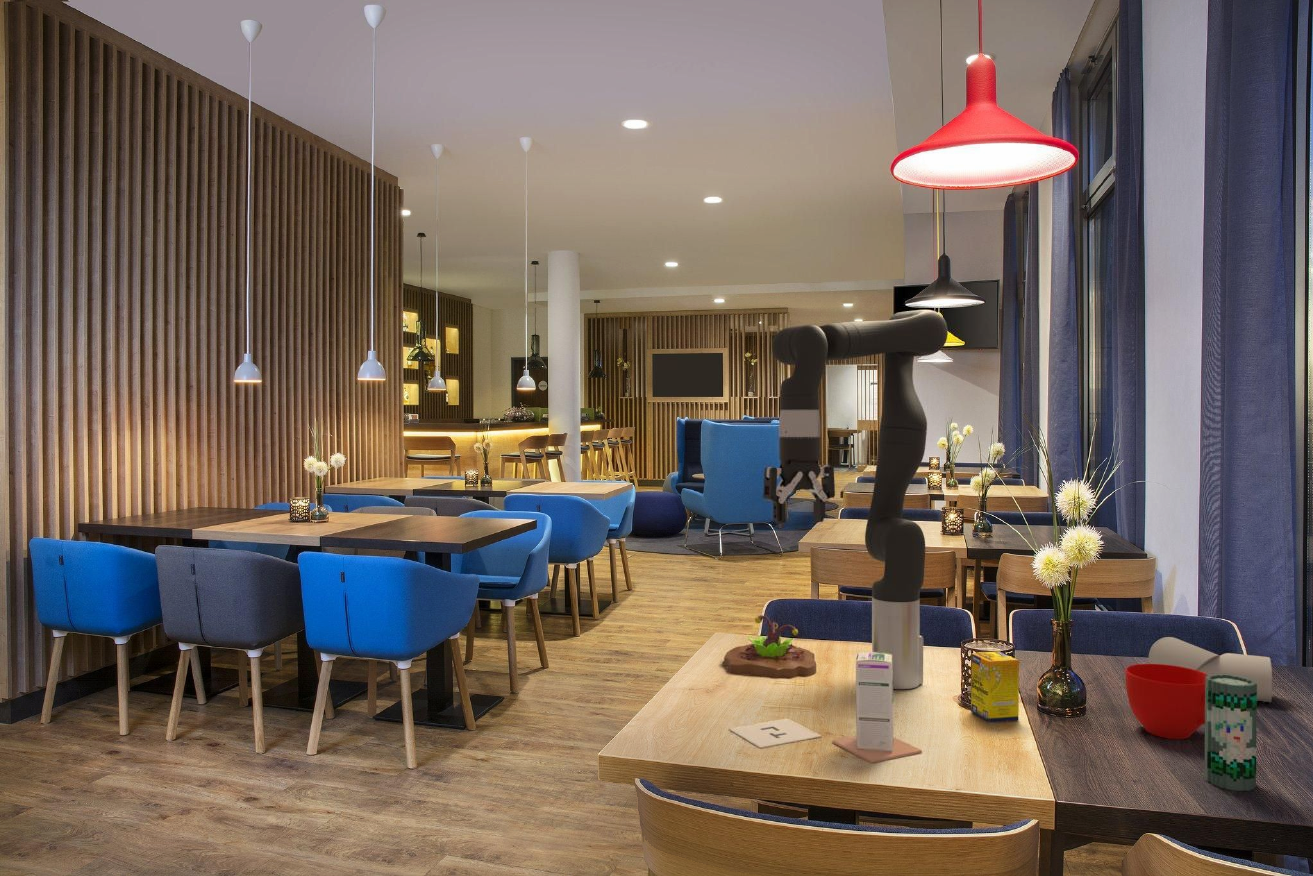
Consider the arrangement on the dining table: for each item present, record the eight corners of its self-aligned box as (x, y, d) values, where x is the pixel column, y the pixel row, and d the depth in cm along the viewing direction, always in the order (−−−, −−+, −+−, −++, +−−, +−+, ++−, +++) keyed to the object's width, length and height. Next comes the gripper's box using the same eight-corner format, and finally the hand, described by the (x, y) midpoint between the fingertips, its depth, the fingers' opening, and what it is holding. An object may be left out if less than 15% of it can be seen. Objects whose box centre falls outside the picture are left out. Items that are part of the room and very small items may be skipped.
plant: (727, 653, 209) (726, 605, 209) (813, 656, 207) (813, 606, 207) (721, 678, 189) (721, 624, 189) (817, 681, 187) (817, 626, 187)
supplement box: (970, 712, 166) (970, 652, 165) (1000, 710, 167) (1000, 650, 167) (988, 723, 160) (988, 661, 160) (1019, 721, 161) (1019, 659, 161)
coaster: (880, 733, 155) (880, 731, 155) (921, 752, 146) (921, 750, 146) (832, 742, 150) (832, 740, 150) (871, 763, 141) (871, 760, 141)
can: (1210, 787, 132) (1211, 683, 131) (1201, 772, 137) (1202, 672, 137) (1259, 793, 130) (1260, 687, 129) (1248, 777, 135) (1249, 676, 135)
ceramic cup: (1205, 759, 143) (1206, 695, 142) (1108, 727, 158) (1108, 669, 157) (1254, 745, 149) (1254, 684, 148) (1155, 715, 164) (1156, 660, 163)
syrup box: (893, 752, 144) (893, 661, 144) (855, 749, 146) (855, 659, 146) (893, 740, 150) (893, 652, 150) (856, 737, 151) (856, 650, 151)
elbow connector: (1148, 689, 176) (1273, 704, 166) (1149, 633, 178) (1272, 645, 168) (1148, 686, 191) (1262, 700, 181) (1148, 635, 193) (1262, 646, 183)
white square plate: (787, 719, 162) (787, 718, 162) (821, 737, 153) (821, 735, 153) (728, 729, 157) (728, 728, 157) (760, 748, 148) (760, 746, 148)
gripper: (778, 435, 162) (778, 527, 162) (843, 434, 168) (843, 522, 168) (755, 434, 168) (755, 522, 169) (819, 434, 175) (819, 519, 175)
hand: (799, 522), depth 168 cm, fingers open, 8 cm apart
